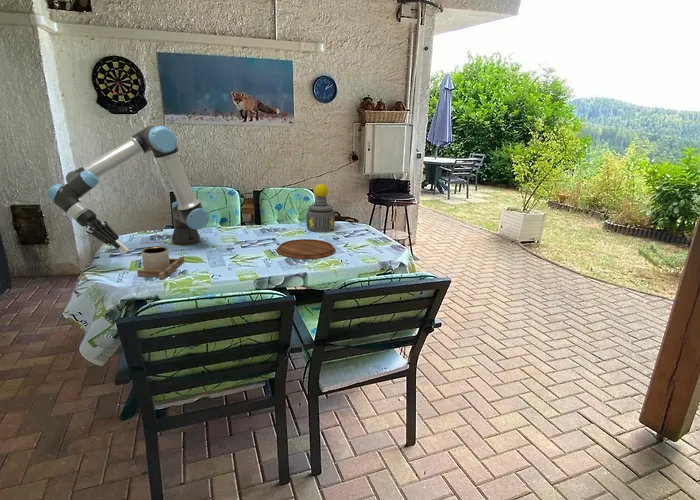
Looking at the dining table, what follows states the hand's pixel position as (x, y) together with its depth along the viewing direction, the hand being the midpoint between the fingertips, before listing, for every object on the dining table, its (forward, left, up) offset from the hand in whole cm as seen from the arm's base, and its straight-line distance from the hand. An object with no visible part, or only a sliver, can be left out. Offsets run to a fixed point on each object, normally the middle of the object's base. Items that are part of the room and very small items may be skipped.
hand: (126, 252), depth 179 cm
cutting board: (-37, +77, -9) cm, 86 cm away
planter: (0, +13, -8) cm, 15 cm away
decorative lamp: (-85, +82, -8) cm, 119 cm away
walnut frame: (0, +14, -8) cm, 17 cm away
